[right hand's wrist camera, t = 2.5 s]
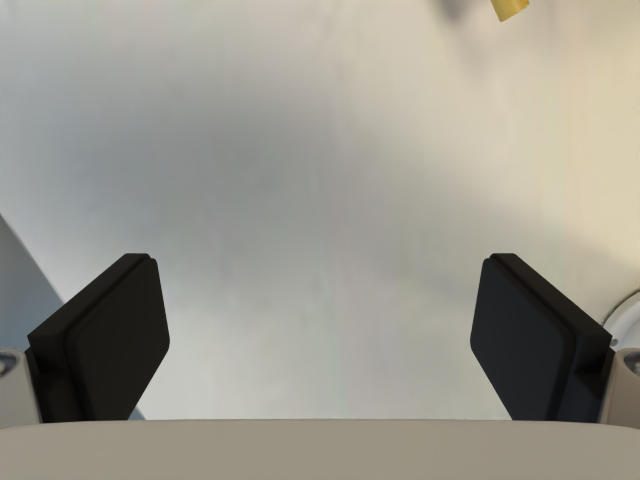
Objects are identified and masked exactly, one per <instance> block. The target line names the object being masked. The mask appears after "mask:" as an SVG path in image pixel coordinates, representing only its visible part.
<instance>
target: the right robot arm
mask: <svg viewBox="0 0 640 480" xmlns="http://www.w3.org/2000/svg"><path fill="white" fill-rule="evenodd" d="M27 337H28V340H29V343H30V347H29V348H28V349H27V350H26V351H25V352H23V351H22V350H19V349H17V348H0V480H640V291H639V292H638V293H636V294H635V295H633V296H632V297H630V298H629V299H627V300H626V301H625V302H624V303H622V304H621V305H620V306H619V307H618V308H617V309H616V310H615V311H614V312H613V313H612V315H611V316H610V317H609V318H608V320H607V321H606V323H605V325H604V326H603V327H602V326H601V325H599V324H598V323H597V322H596V321H595V320H594V319H592V318H591V317H590V316H589V315H588V314H586V313H585V312H584V311H583V310H582V309H580V308H579V307H578V306H577V305H576V304H574V303H573V302H572V301H571V300H570V299H568V298H567V297H566V296H565V295H564V294H562V293H561V292H560V291H559V290H558V289H556V288H555V287H554V286H553V285H552V284H550V283H549V282H548V281H547V280H546V279H544V278H543V277H542V276H541V275H540V274H538V273H537V272H536V271H535V270H534V269H532V268H531V267H530V266H529V265H528V264H526V263H525V262H524V261H523V260H522V259H521V258H519V257H518V256H517V255H516V254H514V253H494V254H492V255H491V256H490V258H486V259H485V260H484V262H483V265H482V271H481V277H480V283H479V289H478V295H477V301H476V307H475V313H474V319H473V325H472V331H471V337H470V344H471V349H472V351H473V353H474V355H475V357H476V358H477V360H478V362H479V364H480V365H481V367H482V369H483V370H484V372H485V374H486V375H487V377H488V379H489V381H490V382H491V384H492V386H493V387H494V389H495V391H496V393H497V394H498V396H499V398H500V399H501V401H502V403H503V405H504V406H505V408H506V410H507V411H508V413H509V415H510V416H511V418H512V420H513V421H510V420H456V419H184V420H130V421H127V420H128V418H129V416H130V415H131V413H132V411H133V410H134V408H135V406H136V405H137V403H138V401H139V399H140V398H141V396H142V394H143V393H144V391H145V389H146V387H147V386H148V384H149V382H150V381H151V379H152V377H153V375H154V374H155V372H156V370H157V369H158V367H159V365H160V364H161V362H162V360H163V358H164V357H165V355H166V353H167V351H168V349H169V344H170V337H169V331H168V325H167V319H166V313H165V307H164V301H163V295H162V289H161V283H160V277H159V271H158V265H157V262H156V260H155V259H154V258H150V256H149V255H148V254H146V253H126V254H124V255H123V256H122V257H121V258H119V259H118V260H117V261H116V262H115V263H114V264H112V265H111V266H110V267H109V268H108V269H106V270H105V271H104V272H103V273H102V274H100V275H99V276H98V277H97V278H96V279H94V280H93V281H92V282H91V283H90V284H88V285H87V286H86V287H85V288H84V289H82V290H81V291H80V292H79V293H78V294H76V295H75V296H74V297H73V298H72V299H70V300H69V301H68V302H67V303H66V304H64V305H63V306H62V307H61V308H60V309H59V310H57V311H56V312H55V313H54V314H53V315H51V316H50V317H49V318H48V319H47V320H45V321H44V322H43V323H42V324H41V325H39V326H38V327H37V328H36V329H35V330H33V331H32V332H31V333H30V334H29V335H27Z"/></svg>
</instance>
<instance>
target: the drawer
mask: <svg viewBox="0 0 640 480" xmlns="http://www.w3.org/2000/svg"><path fill="white" fill-rule="evenodd" d="M491 2H492V5H493V7H494V9H495V11H496V14H497V16H498V18H499V20H500V22H503V21H505V20H507V19H508V18H510V17H512V16H513V15H515V14H517V13H518V12H520V11H521V10H523V9H524V8H525V7H527V6H528V5H529V2H528V0H491Z"/></svg>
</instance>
